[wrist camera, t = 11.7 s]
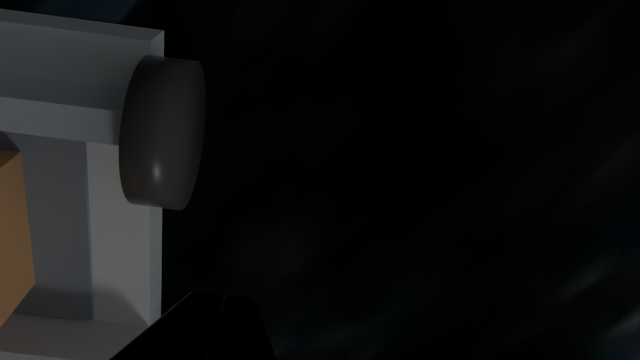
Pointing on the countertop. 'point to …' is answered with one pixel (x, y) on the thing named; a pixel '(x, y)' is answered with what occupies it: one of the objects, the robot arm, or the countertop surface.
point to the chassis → (94, 175)
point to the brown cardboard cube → (13, 235)
